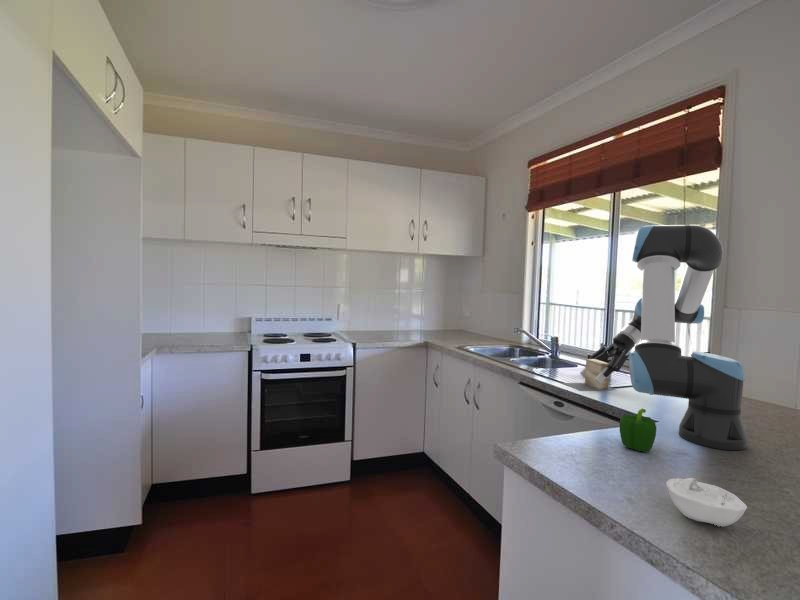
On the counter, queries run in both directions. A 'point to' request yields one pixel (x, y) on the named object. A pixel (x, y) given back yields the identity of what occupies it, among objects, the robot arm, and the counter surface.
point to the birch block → (595, 373)
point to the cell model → (705, 502)
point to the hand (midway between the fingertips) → (589, 378)
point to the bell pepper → (637, 431)
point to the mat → (585, 387)
